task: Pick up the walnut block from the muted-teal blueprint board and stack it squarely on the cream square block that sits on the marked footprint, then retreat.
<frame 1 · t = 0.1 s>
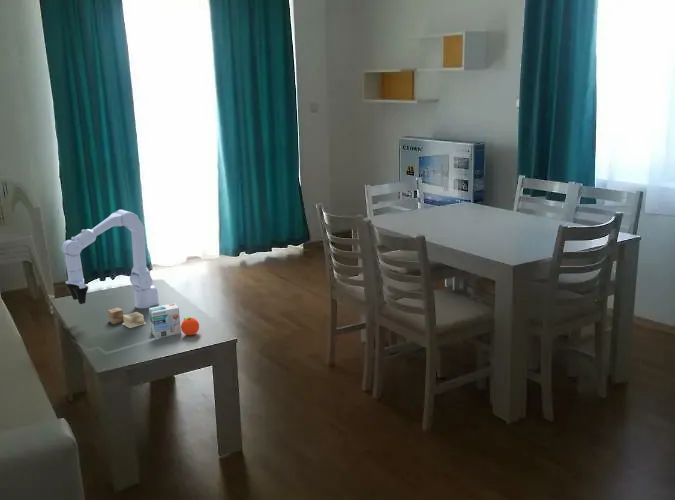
hand: (79, 301, 271), 10 cm above the table, fingers open, 7 cm apart
clementine: (190, 335, 258), on the table
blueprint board: (126, 324, 271), on the table
light bulb box: (166, 334, 260), on the table
cream square block: (134, 323, 269), point 1 cm above the table, touching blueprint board
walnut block: (116, 321, 273), point 1 cm above the table, touching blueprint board
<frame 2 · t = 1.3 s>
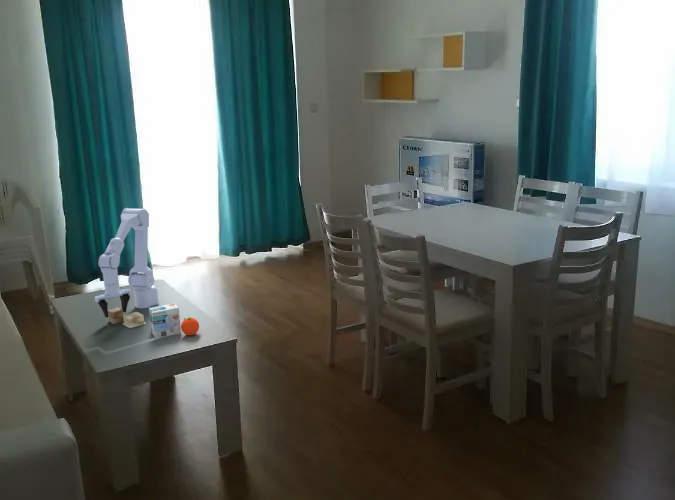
hand: (115, 314, 272), 4 cm above the table, fingers open, 7 cm apart
nothing on the table moved.
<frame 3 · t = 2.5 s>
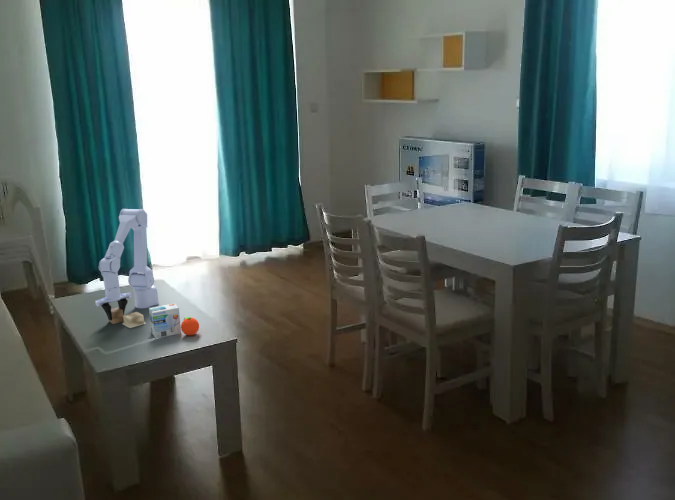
hand: (116, 318, 272), 2 cm above the table, fingers closed on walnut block, 4 cm apart
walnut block: (116, 321, 273), point 1 cm above the table, touching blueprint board, gripper
everything else where it was.
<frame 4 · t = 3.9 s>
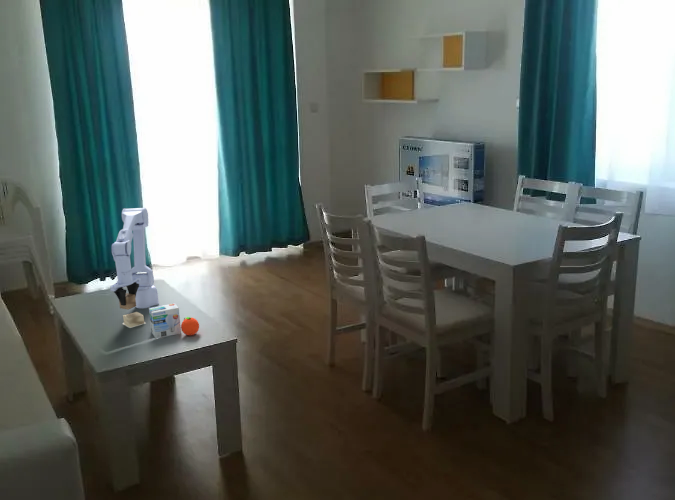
hand: (128, 303, 268), 9 cm above the table, fingers closed on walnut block, 4 cm apart
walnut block: (128, 307, 268), point 8 cm above the table, touching gripper
everything else where it was.
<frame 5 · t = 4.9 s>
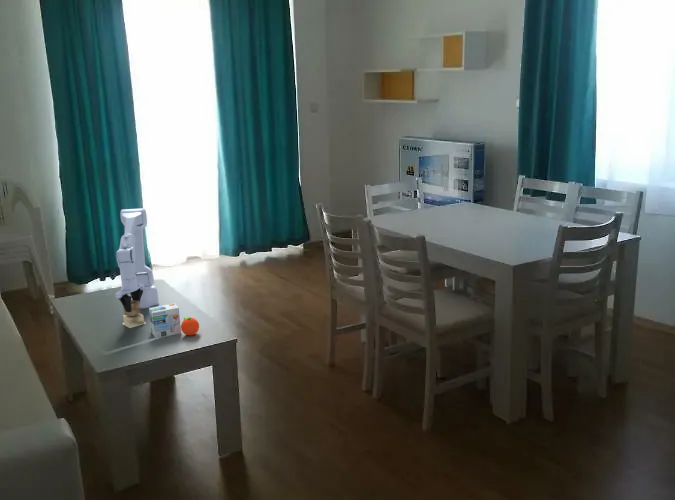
hand: (132, 309, 268), 7 cm above the table, fingers closed on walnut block, 4 cm apart
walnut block: (132, 313, 268), point 5 cm above the table, touching gripper
everything else where it was.
when the fingers open (7 cm above the table, at t = 5.3 s): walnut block stays where it is, resting on cream square block.
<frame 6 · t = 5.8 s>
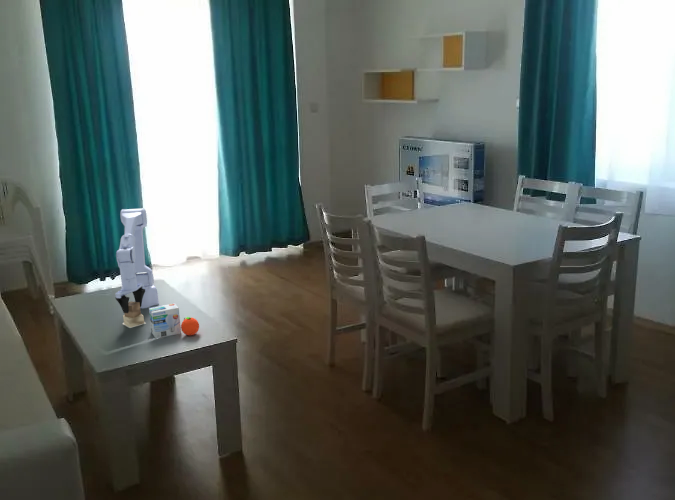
hand: (132, 309, 268), 7 cm above the table, fingers open, 7 cm apart
cream square block: (134, 323, 269), point 1 cm above the table, touching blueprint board, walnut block
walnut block: (132, 315, 269), point 4 cm above the table, touching cream square block
everything else where it was.
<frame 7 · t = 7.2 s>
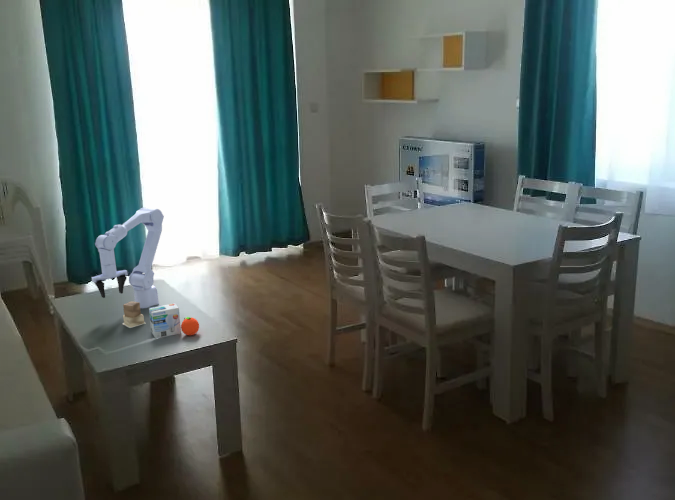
hand: (112, 295, 276), 10 cm above the table, fingers open, 7 cm apart
nothing on the table moved.
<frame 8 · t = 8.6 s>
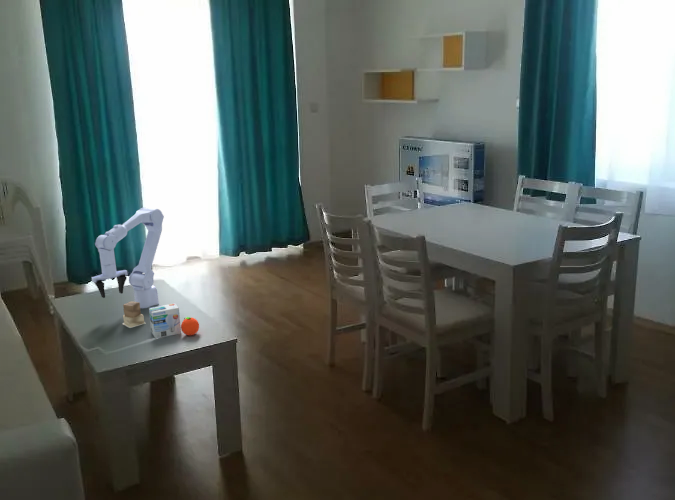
hand: (112, 295, 276), 10 cm above the table, fingers open, 7 cm apart
nothing on the table moved.
at the end: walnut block 0.2 cm off-centre on the cream square block, point 3.5 cm above the cream square block's base; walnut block tilted 0°; the gripper is holding nothing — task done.
